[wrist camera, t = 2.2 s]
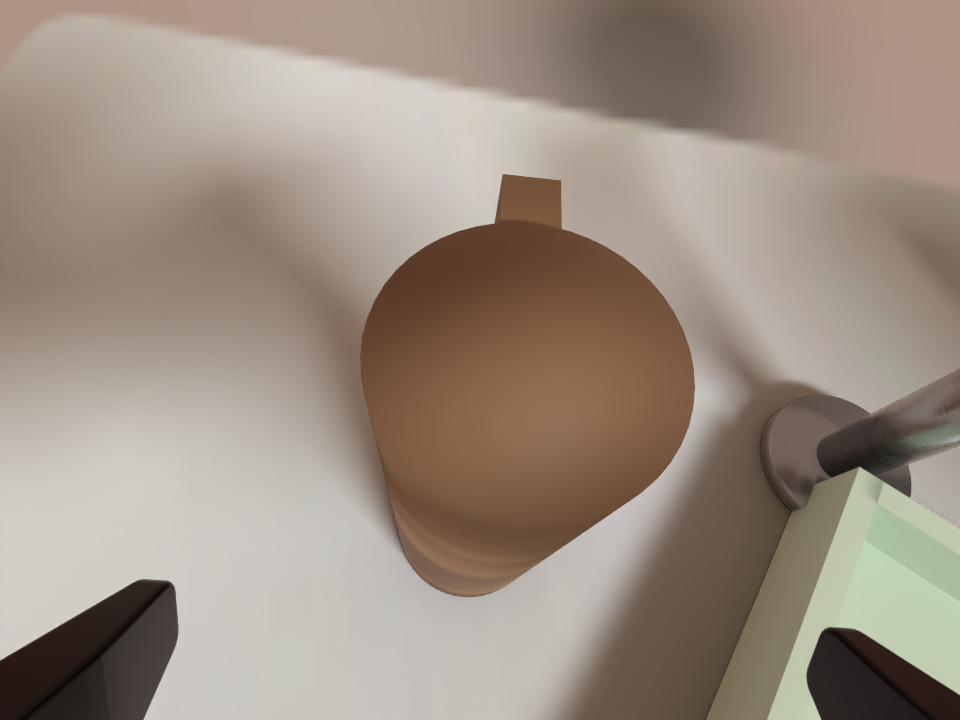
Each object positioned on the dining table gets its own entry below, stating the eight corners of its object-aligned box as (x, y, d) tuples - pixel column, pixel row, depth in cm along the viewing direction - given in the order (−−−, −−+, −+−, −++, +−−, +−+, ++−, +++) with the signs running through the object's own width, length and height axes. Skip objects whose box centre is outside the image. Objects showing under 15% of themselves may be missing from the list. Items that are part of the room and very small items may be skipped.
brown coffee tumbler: (536, 601, 17) (716, 538, 7) (390, 591, 17) (331, 508, 6) (538, 428, 20) (668, 183, 9) (411, 417, 20) (396, 152, 9)
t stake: (911, 541, 19) (1430, 435, 9) (774, 530, 19) (1159, 408, 9) (856, 353, 23) (1193, 129, 13) (739, 341, 22) (990, 104, 12)
